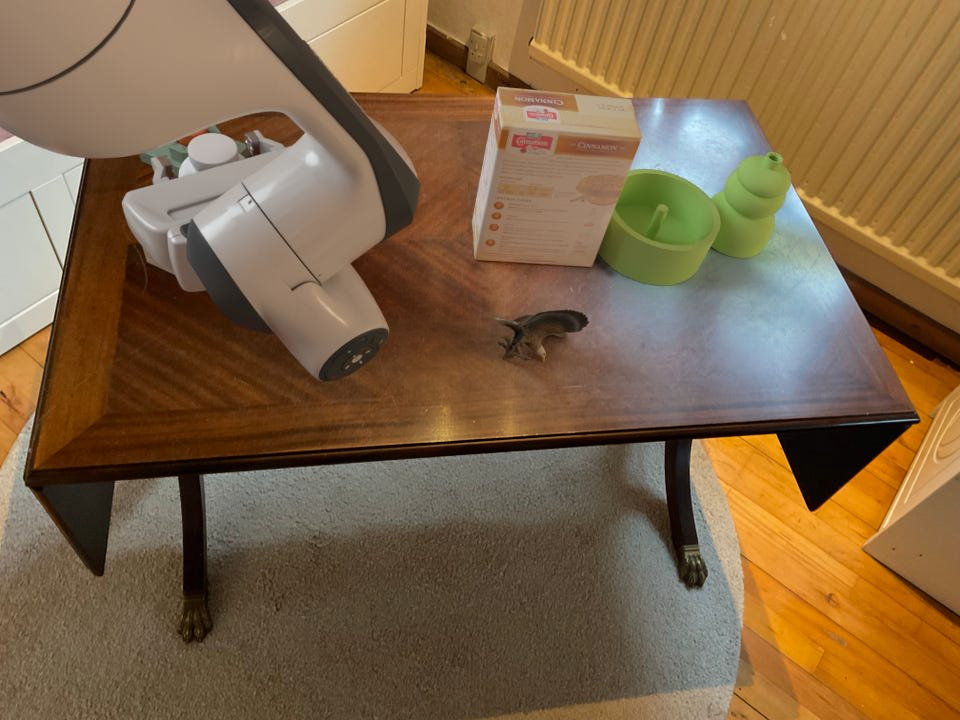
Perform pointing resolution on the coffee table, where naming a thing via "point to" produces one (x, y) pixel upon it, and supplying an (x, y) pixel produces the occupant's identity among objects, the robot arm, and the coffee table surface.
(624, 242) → the food container
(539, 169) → the coffeecake box
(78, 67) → the robot arm
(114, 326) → the coffee table surface
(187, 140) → the button
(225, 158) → the pill bottle
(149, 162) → the panel
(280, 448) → the coffee table surface
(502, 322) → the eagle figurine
